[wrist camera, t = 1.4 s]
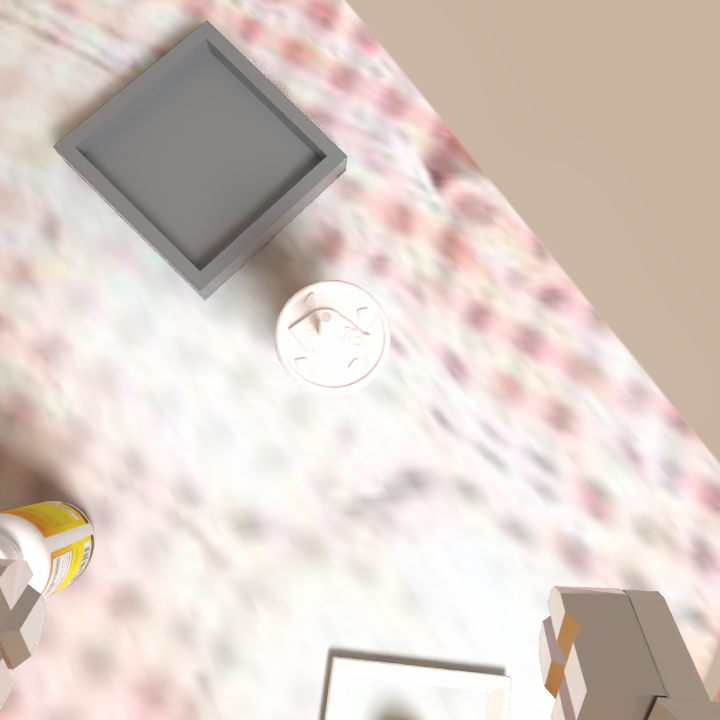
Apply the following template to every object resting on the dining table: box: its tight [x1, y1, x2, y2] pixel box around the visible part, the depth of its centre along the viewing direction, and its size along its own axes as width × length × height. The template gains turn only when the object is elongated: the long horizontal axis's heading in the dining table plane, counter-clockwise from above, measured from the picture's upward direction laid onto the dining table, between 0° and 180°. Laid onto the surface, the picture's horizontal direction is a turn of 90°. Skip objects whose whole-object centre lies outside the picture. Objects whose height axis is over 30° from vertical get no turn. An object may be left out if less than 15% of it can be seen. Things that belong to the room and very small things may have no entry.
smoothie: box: [275, 280, 390, 395], centre depth 35 cm, size 6×6×14 cm
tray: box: [53, 21, 347, 300], centre depth 42 cm, size 14×14×2 cm
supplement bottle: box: [0, 501, 95, 600], centre depth 34 cm, size 6×6×10 cm
